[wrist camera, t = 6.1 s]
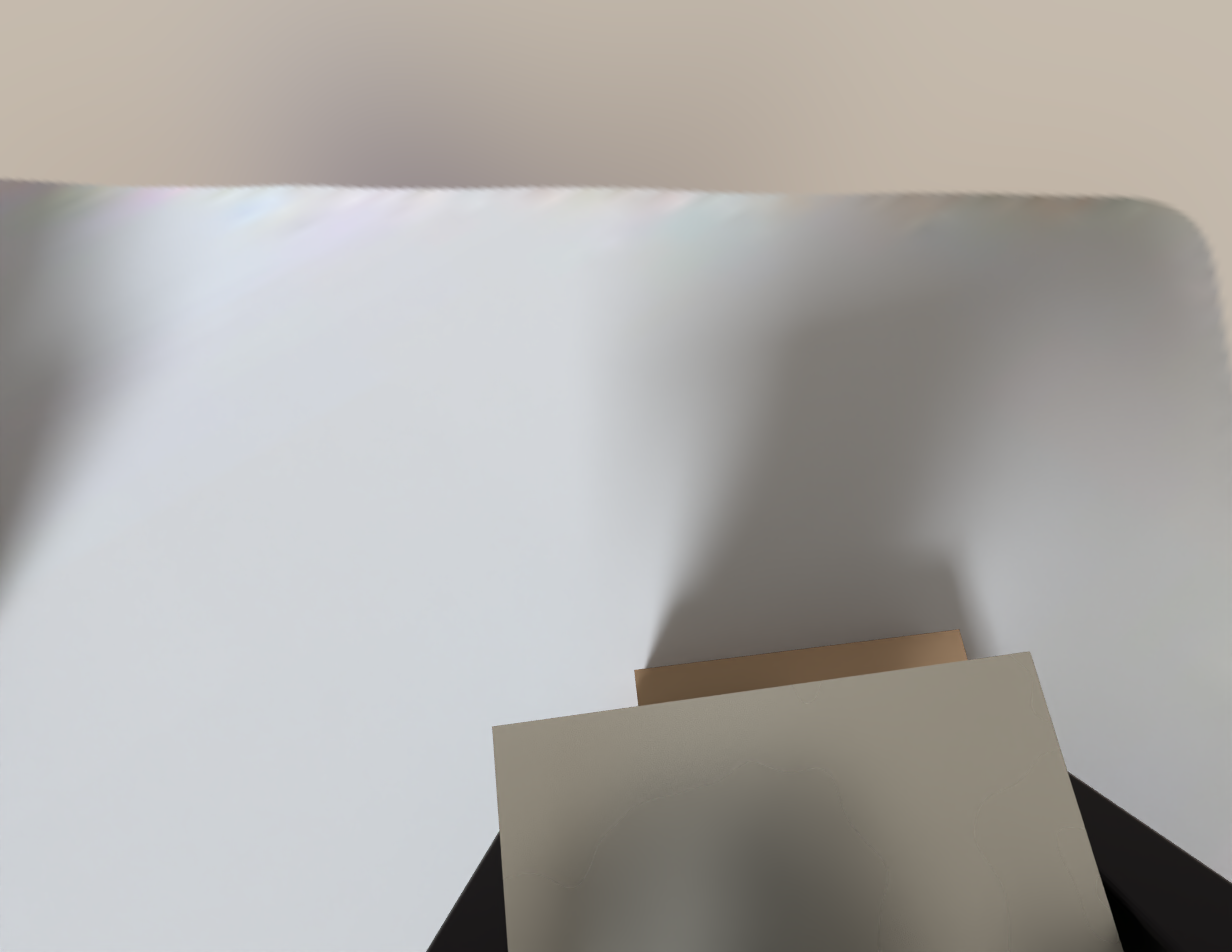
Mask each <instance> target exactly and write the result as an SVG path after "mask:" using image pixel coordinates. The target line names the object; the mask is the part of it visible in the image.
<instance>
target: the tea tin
mask: <svg viewBox="0 0 1232 952" xmlns="http://www.w3.org/2000/svg"><path fill="white" fill-rule="evenodd" d="M492 730H493V744H494V759H495V773H496V787H497V801H498V815H499V829H500V843H501V858H502V872H503V886H504V900H505V914H506V928H507V942H508V952H1124V951H1123V948H1122V945H1121V942H1120V938H1119V935H1118V932H1117V929H1116V925H1115V922H1114V919H1113V916H1112V913H1111V909H1110V906H1109V903H1108V900H1107V897H1106V893H1105V890H1104V887H1103V884H1102V881H1101V877H1100V874H1099V871H1098V868H1097V865H1096V861H1095V858H1094V855H1093V852H1092V849H1091V845H1090V842H1089V839H1088V836H1087V833H1086V829H1085V826H1084V823H1083V820H1082V817H1081V813H1080V810H1079V807H1078V804H1077V801H1076V797H1075V794H1074V791H1073V788H1072V785H1071V781H1070V778H1069V775H1068V772H1067V769H1066V765H1065V762H1064V759H1063V756H1062V753H1061V749H1060V746H1059V743H1058V740H1057V737H1056V733H1055V730H1054V727H1053V724H1052V721H1051V717H1050V714H1049V711H1048V708H1047V705H1046V701H1045V698H1044V695H1043V692H1042V688H1041V685H1040V682H1039V679H1038V676H1037V672H1036V669H1035V666H1034V663H1033V660H1032V656H1031V653H1030V652H1023V653H1015V654H1008V655H1001V656H994V657H987V658H980V659H973V660H965V661H958V662H951V663H944V664H937V665H930V666H922V667H915V668H908V669H901V670H894V671H887V672H880V673H872V674H865V675H858V676H851V677H844V678H837V679H829V680H822V681H815V682H808V683H801V684H794V685H787V686H779V687H772V688H765V689H758V690H751V691H744V692H736V693H729V694H722V695H715V696H708V697H701V698H694V699H686V700H679V701H672V702H665V703H658V704H651V705H644V706H636V707H629V708H622V709H615V710H608V711H601V712H593V713H586V714H579V715H572V716H565V717H558V718H551V719H543V720H536V721H529V722H522V723H515V724H508V725H500V726H493V727H492Z"/></svg>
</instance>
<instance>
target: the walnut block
mask: <svg viewBox="0 0 1232 952" xmlns="http://www.w3.org/2000/svg"><path fill="white" fill-rule="evenodd" d="M965 660H968V659H967V656H966V652H965V648H964V645H963V641H962V638H961V634H960V630H959V629H958V630H950V631H942V632H934V633H926V634H918V635H910V636H902V637H894V638H886V639H878V640H870V641H862V642H854V643H846V644H838V645H830V646H822V647H814V648H806V649H799V650H791V651H783V652H775V653H767V654H759V655H751V656H743V657H735V658H727V659H719V660H711V661H703V662H695V663H687V664H679V665H671V666H663V667H655V668H647V669H639V670H634V672H635V681H636V689H637V698H638V706H644V705H651V704H658V703H665V702H672V701H679V700H686V699H694V698H701V697H708V696H715V695H722V694H729V693H736V692H744V691H751V690H758V689H765V688H772V687H779V686H787V685H794V684H801V683H808V682H815V681H822V680H829V679H837V678H844V677H851V676H858V675H865V674H872V673H880V672H887V671H894V670H901V669H908V668H915V667H922V666H930V665H937V664H944V663H951V662H958V661H965Z"/></svg>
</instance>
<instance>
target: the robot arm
mask: <svg viewBox="0 0 1232 952" xmlns="http://www.w3.org/2000/svg"><path fill="white" fill-rule="evenodd" d="M1067 772H1068V771H1067ZM1068 775H1069V778H1070V781H1071V785H1072V788H1073V791H1074V794H1075V797H1076V801H1077V804H1078V807H1079V810H1080V813H1081V817H1082V820H1083V823H1084V826H1085V829H1086V833H1087V836H1088V839H1089V842H1090V845H1091V849H1092V852H1093V855H1094V858H1095V861H1096V865H1097V868H1098V871H1099V874H1100V877H1101V881H1102V884H1103V887H1104V890H1105V893H1106V897H1107V900H1108V903H1109V906H1110V909H1111V913H1112V916H1113V919H1114V922H1115V925H1116V929H1117V932H1118V935H1119V938H1120V942H1121V945H1122V948H1123V951H1124V952H1232V883H1231V882H1229V881H1228V880H1226V879H1225V878H1224V877H1222V876H1221V875H1219V874H1218V873H1216V872H1215V871H1213V870H1212V869H1210V868H1209V867H1207V866H1206V865H1204V864H1203V863H1201V862H1200V861H1199V860H1197V859H1196V858H1194V857H1193V856H1191V855H1190V854H1188V853H1187V852H1185V851H1184V850H1182V849H1181V848H1179V847H1178V846H1176V845H1175V844H1174V843H1172V842H1171V841H1169V840H1168V839H1166V838H1165V837H1163V836H1162V835H1160V834H1159V833H1157V832H1156V831H1154V830H1153V829H1151V828H1150V827H1149V826H1147V825H1146V824H1144V823H1143V822H1141V821H1140V820H1138V819H1137V818H1135V817H1134V816H1132V815H1131V814H1129V813H1128V812H1126V811H1125V810H1124V809H1122V808H1121V807H1119V806H1118V805H1116V804H1115V803H1113V802H1112V801H1110V800H1109V799H1107V798H1106V797H1104V796H1103V795H1101V794H1100V793H1099V792H1097V791H1096V790H1094V789H1093V788H1091V787H1090V786H1088V785H1087V784H1085V783H1084V782H1082V781H1081V780H1079V779H1078V778H1076V777H1075V776H1074V775H1072V774H1071V773H1069V772H1068ZM426 952H508V942H507V928H506V914H505V900H504V886H503V872H502V858H501V843H500V831H499V832H498V834H497V836H496V837H495V839H494V841H493V842H492V844H491V846H490V847H489V849H488V851H487V852H486V854H485V856H484V857H483V859H482V860H481V862H480V864H479V865H478V867H477V869H476V870H475V872H474V874H473V875H472V877H471V879H470V880H469V882H468V884H467V885H466V887H465V889H464V890H463V892H462V893H461V895H460V897H459V898H458V900H457V902H456V903H455V905H454V907H453V908H452V910H451V912H450V913H449V915H448V917H447V918H446V920H445V921H444V923H443V925H442V926H441V928H440V930H439V931H438V933H437V935H436V936H435V938H434V940H433V941H432V943H431V945H430V946H429V948H428V949H427V951H426Z"/></svg>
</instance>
